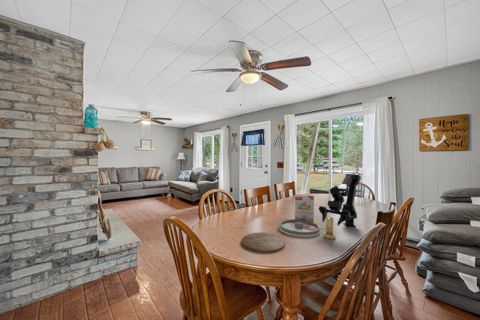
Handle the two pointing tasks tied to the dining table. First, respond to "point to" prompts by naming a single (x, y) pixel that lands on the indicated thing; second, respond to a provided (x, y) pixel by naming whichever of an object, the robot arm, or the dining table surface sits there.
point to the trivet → (263, 242)
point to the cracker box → (304, 207)
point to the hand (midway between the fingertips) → (330, 223)
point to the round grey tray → (299, 228)
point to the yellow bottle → (329, 229)
